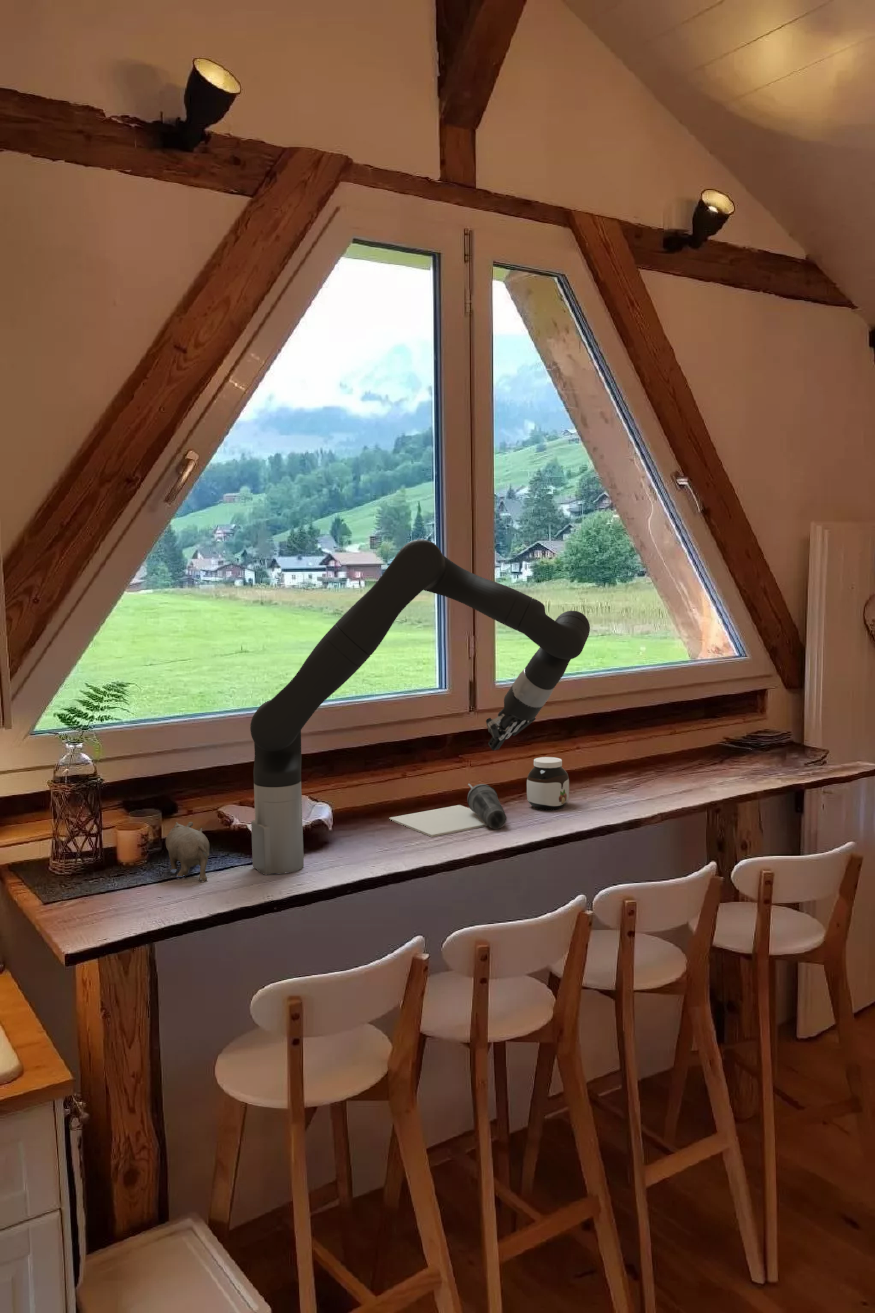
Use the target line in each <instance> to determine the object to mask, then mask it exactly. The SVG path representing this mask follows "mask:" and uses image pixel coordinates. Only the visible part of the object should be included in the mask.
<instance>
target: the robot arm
mask: <svg viewBox="0 0 875 1313" xmlns="http://www.w3.org/2000/svg"><path fill="white" fill-rule="evenodd" d="M374 583H375V584H373V586H372V587H371V588H370V589H369V590H368V591H367V592H366V593H365V594H363V596H361V598H359V600H357V601H356V602H355V603H354V604H353V605H352V606H351V607H350V608H349V609H348V610H347V611H346V612H345V613H344V614H343V615H342V616H341V617H340V618H339V619H338V620H337V621H336V622H335V623H334V624H333V626H332V627H331V628H329V630H328V631H327V632H326V633H325V635H323V637H322V638H321V639H320V640H319V642H318V643H317V644H316V645H315V647H314V648H313V649H312V651H311V652H310V653H309V655H308V656H307V658H306V659H305V661H304V662H303V664H302V665H301V667H300V668H299V670H298V671H297V672H296V674H295V675H294V677H293V678H292V679H291V680H290V681H289V682H288V683H287V684H286V686H284V687H283V688H282V689H281V690H280V691H279V692H278V693H276V695H275V696H273V698H271V699H269V700H267V701H265V702H264V703H262V704H261V705H260V706H259V707H258V708H256V711H255V712H254V714H253V716H252V718H251V720H250V724H249V726H250V727H249V728H250V729H249V731H250V736H251V738H252V741H253V743H254V745H253V746H254V757H253V758H254V761H253V763H254V764H253V794H254V798H253V800H254V819H252V820H251V823H250V825H251V826H250V827H251V849H252V850H251V853H252V859H251V860H252V868H253V867H254V868H253V869H255V868H256V869H257V871H258V872H260V873H261V872H262V873H261V874H263V873H264V874H268V875H272V874H271V873H284V874H286V873H285V872H290V873H294V872H298V871H300V870H302V869H303V868H304V866H305V864H304V861H305V860H304V858H305V857H304V834H303V833H304V832H303V801H302V800H303V798H302V797H303V795H302V791H303V790H302V758H303V757H302V730H303V729H304V726H305V725H306V723H308V721H309V720H310V719H311V717H312V716H313V715H314V714H315V712H316V711H317V709H318V708H319V707H320V706H321V705H322V704H323V703H324V702H325V701H326V700H327V699H328V698H329V697H331V696H332V695H333V694H334V693H335V692H337V690H338V689H339V688H341V687H342V686H343V685H344V684H345V683H347V681H348V680H349V679H350V678H351V677H352V676H353V675H354V674H355V673H356V672H357V671H358V670H360V668H361V667H362V666H363V665H364V664H365V663H366V661H368V659H369V658H370V657H371V656H372V655H373V654H374V652H375V651H376V650H377V649H378V647H379V646H380V645H381V643H382V642H383V640H384V639H385V637H386V636H387V635H388V633H389V631H390V629H391V627H392V625H394V623H395V621H396V620H397V618H398V616H399V615H400V613H401V612H402V611H403V610H404V609H405V608H406V607H407V606H408V605H409V604H410V603H411V602H412V601H413V600H414V599H415V598H416V597H418V595H419V594H421V593H422V592H423V591H425V592H429V593H432V594H435V595H440V596H443V597H445V598H448V599H451V600H454V601H456V602H459V603H461V604H463V605H465V606H468V607H469V608H470V609H471V608H472V609H473V610H475V611H476V612H479V613H481V614H482V615H485V616H486V617H488V618H491V619H492V620H494V621H496V622H498V623H499V624H501V625H504V626H505V627H509V628H511V629H513V630H514V631H517V632H519V633H520V634H524V635H525V636H526V637H527V638H528V639H530V640H531V642H533V643H534V644H536V645H537V646H538V647H539V648H538V649H537V651H536V652H535V653H534V654H533V656H532V657H531V659H530V660H529V661H528V663H527V665H526V666H525V667H524V669H523V670H522V671H521V672H520V673H519V675H518V676H517V677H516V679H515V680H514V682H513V683H512V685H511V686H510V688H509V689H508V691H507V693H505V695H504V698H503V708H502V709H501V710H500V711H499V712H498V714H497V716H496V717H495V718H494V719H493V718H491V717H489V718H487V719H486V720H485V723H486V727H487V731H488V733H490V735H491V738H490V739H489V740H488V743H487V744H488V747H489V748H490V749H491V750H492V751H497V750H500V748H501V746H502V745H503V744H504V742H505V741H506V740H508V739H509V738H510V737H511V736H513V737H515V736H517V735H518V734H519V733H520V732H522V731H523V730H524V729H526V728H527V727H528V726H530V725H531V724H532V723H533V722H535V721H536V718H537V716H538V715H539V712H541V710H542V708H543V707H544V706H545V704H546V703H547V701H548V700H549V699H550V697H551V695H552V694H553V692H554V690H555V688H556V686H557V684H558V683H559V682H560V681H561V679H562V678H563V676H564V674H565V672H566V671H567V668H568V665H569V664H570V661H571V660H573V659H575V658H578V657H579V656H580V655H581V654H582V652H583V650H584V648H585V646H586V644H587V643H586V642H587V641H588V638H589V635H590V631H591V628H590V627H591V626H590V621H589V619H588V618H587V616H586V615H585V614H583V613H582V612H580V611H578V610H568V611H564V612H563V613H560V614H559V615H558V616H557V618H556V619H555V620H554V619H553V618H552V617H550V616H549V615H548V614H546V606H545V604H544V603H543V602H541V601H540V600H538V599H537V598H534V597H532V596H529V595H528V594H526V593H523V592H521V591H519V590H517V589H514V588H512V587H511V586H507V585H505V584H502V583H499V582H497V581H494V580H490V579H487V578H485V577H482V576H479V575H477V574H475V573H473V572H470V571H469V570H468V569H464V568H463V567H461V566H459V565H458V564H457V563H455V562H454V561H451V559H450V558H448V557H447V556H445V555H444V554H443V553H442V551H441V550H440V548H439V547H438V545H437V544H435V543H434V542H433V541H430V540H427V539H422V538H421V539H413V540H411V541H409V542H408V543H406V544H404V545H403V546H402V547H401V548H400V549H399V551H398V552H397V554H396V555H395V556H394V558H393V559H392V561H391V562H390V563H389V565H388V566H387V568H386V569H385V570H384V571H383V573H382V574H381V576H380V577H379V578H378V580H377V581H376V582H374ZM302 867H303V868H302ZM256 869H255V870H256ZM299 869H300V870H299ZM264 874H263V875H264Z"/></svg>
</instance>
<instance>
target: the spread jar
mask: <svg viewBox="0 0 875 1313" xmlns="http://www.w3.org/2000/svg"><path fill="white" fill-rule="evenodd" d="M569 795H570V778H569V773H568V772H567V771H566V770H565V768H564V767H563V759H562V758H559V757H553V756H541V757H536V758H534V759H533V768H531V770H530V771H529V772H528V773H527V778H526V799H527V801H528V803H529V805H530V806H532V807H533V808H534V809H536V810H539V811H557V810H561V809H563V807H564V806H566V804H567V803H568V801H569V797H570V796H569Z"/></svg>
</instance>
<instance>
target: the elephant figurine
mask: <svg viewBox="0 0 875 1313" xmlns="http://www.w3.org/2000/svg"><path fill="white" fill-rule="evenodd" d="M193 826H194V822H193V821H189V822H188V823H187V824H186V825H183V824H180V823H179V822H177V821H176V822H175V824H174V826H173V827H172V828H170V831H169V833H168V834H167V836H166V837H165V847H166V850H167V851H168V856H169V862H170V863H169V864H170V866H171V868H170V870H171V869H177V868H178V862H180V869H179V870H178V871H179V872H177V874H176V875H178V876H183V875H185V876H187V875H188V874H189V871H190V868H192V867H194V866H196V865H199V866H200V867H199V877H198V881H200V880H201V881H204V882H206V881H205V880H207V879H208V876H207V873H206V869H207V864H208V859H209V856H210V855H211V854H210V842H209V840H208V839H209V838H208V837H207V836H206V834H204V833H203V828H202V827H201V828H200V830H197V829H195V828H193Z"/></svg>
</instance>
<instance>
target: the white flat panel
mask: <svg viewBox="0 0 875 1313" xmlns="http://www.w3.org/2000/svg"><path fill="white" fill-rule="evenodd" d="M389 819H390V820H389ZM388 820H389V821H391V820H392V821H391V822H393V821H394V822H393V823H396V824H397V825H398V824H399V825H401V826H403V825H404V826H403V827H405V826H406V827H405V828H407V829H410V830H413V831H416V832H419V833H420V834H423V835H425V836H427V837H428V836H429V837H430V838H434V837H439V836H444V835H449V834H453V833H454V834H455V833H459V832H465V831H468V830H474V829H480V828H484V827H489V826H488V825H487V824H486V823H485V822H484V821H483V820H482V819H481V818H480V817H479V815H478V814H476V813H475V812H473V811H472V810H471V809H470V808H469V807H467V806H464V805H461V804H457V805H451V806H446V807H441V808H436V809H430V810H424V811H419V812H413V813H408V814H402V815H398V816H397V815H396V816H391V817H389V818H388Z"/></svg>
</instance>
